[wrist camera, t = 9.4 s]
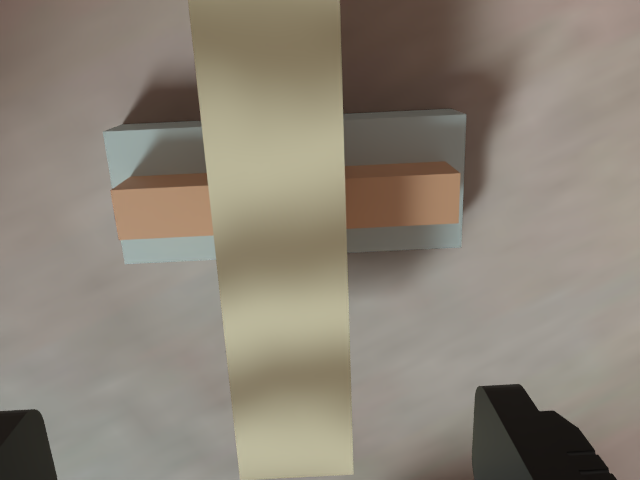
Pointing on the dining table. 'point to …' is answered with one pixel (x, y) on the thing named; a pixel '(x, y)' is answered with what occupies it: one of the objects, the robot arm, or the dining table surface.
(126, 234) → the fulcrum
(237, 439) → the batten
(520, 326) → the dining table surface
